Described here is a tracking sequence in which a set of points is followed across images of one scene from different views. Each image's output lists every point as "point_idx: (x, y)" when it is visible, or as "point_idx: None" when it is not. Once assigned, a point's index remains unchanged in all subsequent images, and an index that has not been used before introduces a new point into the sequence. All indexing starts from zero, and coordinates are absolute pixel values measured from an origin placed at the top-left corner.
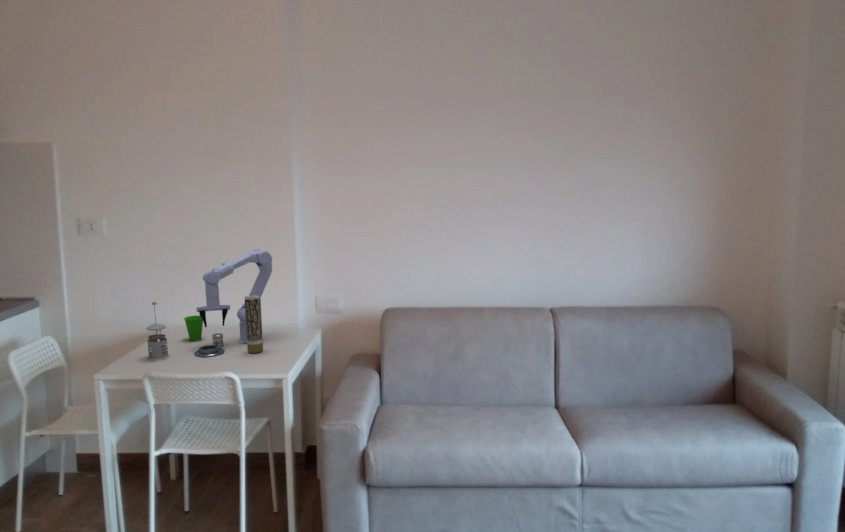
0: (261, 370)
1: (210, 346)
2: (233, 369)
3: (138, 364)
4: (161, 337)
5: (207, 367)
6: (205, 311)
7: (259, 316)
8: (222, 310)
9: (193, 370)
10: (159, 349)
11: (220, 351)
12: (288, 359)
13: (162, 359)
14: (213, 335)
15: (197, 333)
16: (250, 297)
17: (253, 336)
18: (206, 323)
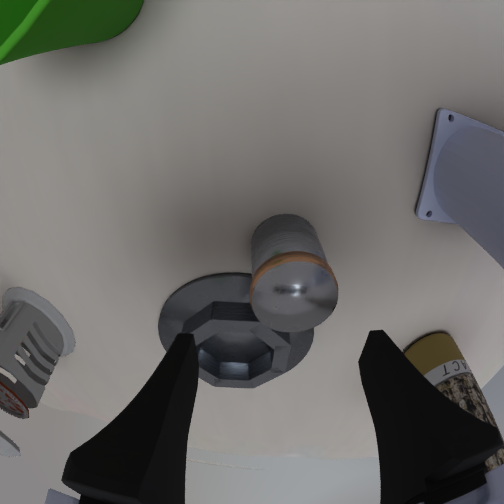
0: (366, 452)
1: (239, 329)
2: (310, 450)
3: (22, 360)
4: (26, 417)
5: (242, 438)
6: (144, 484)
7: None
8: (415, 497)
9: (205, 443)
10: (41, 382)
11: (291, 346)
12: None
13: (63, 355)
14: (261, 320)
15: (96, 33)
16: None
17: None
18: (189, 365)
